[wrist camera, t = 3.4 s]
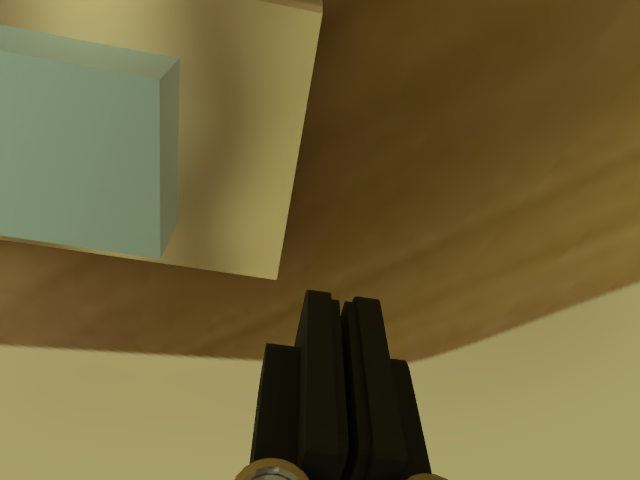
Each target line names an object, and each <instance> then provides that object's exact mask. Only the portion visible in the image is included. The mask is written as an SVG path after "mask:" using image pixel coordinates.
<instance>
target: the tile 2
mask: <svg viewBox="0 0 640 480" xmlns="http://www.w3.org/2000/svg"><path fill="white" fill-rule="evenodd" d="M179 84H180V58H175V57H170V56H164V55H159V54H154V53H149V52H143V51H138V50H133V49H127V48H122V47H117V46H111V45H106V44H101V43H95V42H90V41H85V40H79V39H74V38H69V37H63V36H58V35H53V34H48V33H42V32H37V31H32V30H26V29H21V28H16V27H10V26H5V25H0V235H1V236H8V237H15V238H21V239H28V240H35V241H42V242H49V243H56V244H62V245H69V246H76V247H83V248H90V249H96V250H103V251H110V252H117V253H124V254H131V255H137V256H144V257H151V258H158V259H160V258H161V256H162V254H163V252H164V250H165V248H166V246H167V243H168V241H169V239H170V237H171V235H172V233H173V231H174V228H175V226H176V224H177V188H178V136H179Z"/></svg>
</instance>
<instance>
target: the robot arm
mask: <svg viewBox="0 0 640 480" xmlns="http://www.w3.org/2000/svg"><path fill="white" fill-rule="evenodd" d="M235 480H447V479H445V478H443V477H440V476H438V475H435V474H432V473H431V468H430V463H429V459H428V454H427V449H426V445H425V441H424V435H423V431H422V426H421V422H420V417H419V412H418V408H417V403H416V398H415V394H414V389H413V385H412V380H411V375H410V371H409V367H408V364H407V363H406V361H405V360H397V359H390V356H389V350H388V344H387V339H386V333H385V327H384V322H383V316H382V310H381V305H380V301H379V300H378V299H371V298H364V297H357V296H356V297H354V299H353V302H347V301H346V302H345V303H344V306H343V309H342V313H341V316H340V304H339V300H333V299H331V293H328V292H321V291H313V290H307V291H306V294H305V299H304V303H303V308H302V313H301V317H300V322H299V326H298V331H297V336H296V340H295V345H294V347H293V346H285V345H277V344H269V343H266V348H265V353H264V359H263V365H262V371H261V378H260V385H259V392H258V400H257V407H256V417H255V424H254V432H253V441H252V449H251V457H250V464H249V465H248V466H246V467H245V468H244V469H243V470H242V471H241V472H240V473H239V474H238V475H237V476H236V478H235Z"/></svg>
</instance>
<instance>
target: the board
mask: <svg viewBox="0 0 640 480" xmlns="http://www.w3.org/2000/svg"><path fill="white" fill-rule="evenodd" d="M322 15H323V0H0V25H5V26H10V27H16V28H21V29H26V30H32V31H37V32H42V33H48V34H53V35H58V36H63V37H69V38H74V39H79V40H85V41H90V42H95V43H101V44H106V45H111V46H117V47H122V48H127V49H133V50H138V51H143V52H149V53H154V54H159V55H164V56H170V57H175V58H180V84H179V136H178V188H177V224H176V226H175V228H174V231H173V233H172V235H171V237H170V239H169V241H168V243H167V246H166V248H165V250H164V252H163V254H162V256H161V258H160V259H158V258H151V257H144V256H137V255H131V254H124V253H117V252H110V251H103V250H96V249H90V248H83V247H76V246H69V245H62V244H56V243H49V242H42V241H35V240H28V239H21V238H15V237H8V236H1V235H0V240H5V241H12V242H19V243H26V244H33V245H40V246H47V247H53V248H60V249H67V250H74V251H81V252H88V253H95V254H101V255H108V256H115V257H122V258H129V259H136V260H143V261H149V262H156V263H163V264H170V265H177V266H184V267H191V268H197V269H204V270H211V271H218V272H225V273H232V274H239V275H245V276H252V277H259V278H266V279H273V280H277V275H278V269H279V263H280V258H281V252H282V246H283V240H284V235H285V229H286V223H287V217H288V211H289V206H290V200H291V194H292V188H293V182H294V177H295V171H296V165H297V159H298V154H299V148H300V142H301V136H302V130H303V125H304V119H305V113H306V107H307V101H308V96H309V90H310V84H311V78H312V73H313V67H314V61H315V55H316V49H317V44H318V38H319V32H320V26H321V20H322Z"/></svg>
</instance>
